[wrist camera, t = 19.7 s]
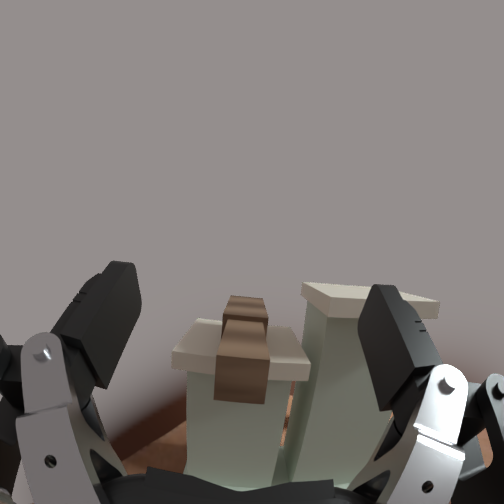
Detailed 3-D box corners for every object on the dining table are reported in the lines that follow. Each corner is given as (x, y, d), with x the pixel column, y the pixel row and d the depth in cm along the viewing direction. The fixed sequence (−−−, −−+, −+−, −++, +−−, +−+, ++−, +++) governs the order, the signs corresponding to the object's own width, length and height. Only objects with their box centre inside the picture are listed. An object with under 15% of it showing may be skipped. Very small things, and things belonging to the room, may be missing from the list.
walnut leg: (228, 325, 39) (230, 295, 39) (259, 328, 39) (262, 298, 39) (205, 404, 17) (208, 346, 17) (270, 410, 17) (279, 353, 17)
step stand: (193, 444, 41) (201, 272, 41) (347, 448, 41) (385, 287, 41) (177, 500, 26) (175, 282, 26) (373, 498, 26) (440, 301, 26)
